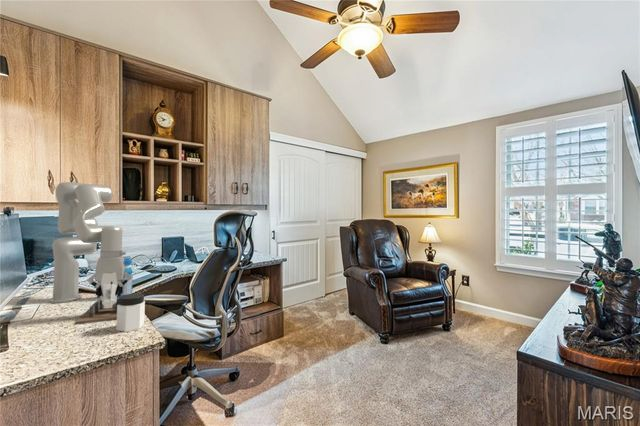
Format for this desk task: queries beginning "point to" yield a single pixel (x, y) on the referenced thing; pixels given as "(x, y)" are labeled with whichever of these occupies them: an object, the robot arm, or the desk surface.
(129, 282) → the beverage bottle
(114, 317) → the u rest
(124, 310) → the jar
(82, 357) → the desk surface
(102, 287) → the beer glass
